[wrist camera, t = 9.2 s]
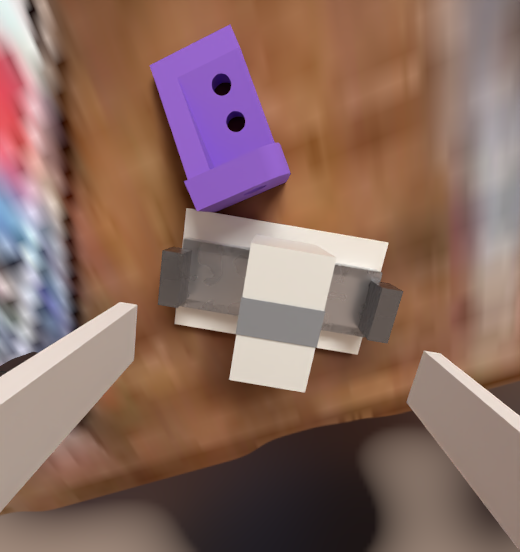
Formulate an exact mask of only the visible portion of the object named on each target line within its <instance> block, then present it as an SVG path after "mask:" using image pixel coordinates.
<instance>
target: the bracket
mask: <svg viewBox="0 0 520 552" xmlns="http://www.w3.org/2000/svg"><path fill="white" fill-rule="evenodd" d="M150 68H151V71H152V74H153V77H154V80H155V83H156V86H157V89H158V92H159V95H160V98H161V101H162V104H163V107H164V110H165V113H166V116H167V119H168V122H169V125H170V128H171V131H172V134H173V137H174V140H175V143H176V146H177V149H178V152H179V155H180V158H181V161H182V164H183V167H184V170H185V173H186V176H187V179H188V180H186V181H184V183H185V185H186V187H187V190H188V192H189V194H190V196H191V199H192V201H193V203H194V206H195V208H196V210H197V211H202V212H217V211H220V210H222V209H224V208H227V207H229V206H231V205H234V204H236V203H238V202H241V201H243V200H246V199H248V198H250V197H253V196H255V195H257V194H260V193H262V192H264V191H267V190H269V189H271V188H274V187H276V186H278V185H281V184H283V183H285V182H286V181H287V180H288V178H289V176H290V174H291V173H290V170H289V168H288V165H287V162H286V159H285V157H284V154H283V151H282V148H281V145H280V144H279V143H274V140H273V137H272V134H271V132H270V129H269V126H268V123H267V121H266V118H265V115H264V112H263V110H262V107H261V104H260V101H259V99H258V96H257V93H256V90H255V88H254V85H253V82H252V79H251V77H250V74H249V71H248V68H247V66H246V63H245V60H244V57H243V55H242V52H241V49H240V46H239V44H238V42H237V39H236V37H235V35H234V32H233V30H232V28H231V25H228V26H226V27H224V28H222V29H220V30H218V31H216V32H214V33H212V34H210V35H209V36H207V37H205V38H203V39H201V40H199V41H197V42H195V43H193V44H191V45H189V46H187V47H185V48H183V49H181V50H179V51H177V52H175V53H173V54H171V55H169V56H167V57H165V58H163V59H161V60H159V61H157V62H155V63H153V64H152V65H150ZM221 83H230V84H231V89H230V91H229V93H228V94H226V95H224V96H220V95H217V94H216V93H215V92H214V91H215V89H216V87H217V86H218V85H219V84H221ZM234 117H243V118H245V126H244V128H243V129H242V130H241V131H239V132H233V131H231V130H230V129H229V128H228V127H227V125H228V123H229V121H230V120H231V119H232V118H234Z"/></svg>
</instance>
